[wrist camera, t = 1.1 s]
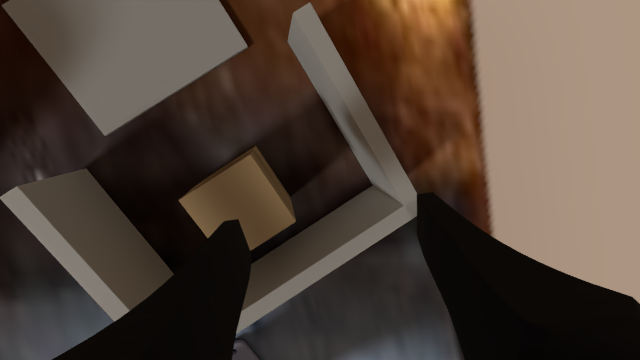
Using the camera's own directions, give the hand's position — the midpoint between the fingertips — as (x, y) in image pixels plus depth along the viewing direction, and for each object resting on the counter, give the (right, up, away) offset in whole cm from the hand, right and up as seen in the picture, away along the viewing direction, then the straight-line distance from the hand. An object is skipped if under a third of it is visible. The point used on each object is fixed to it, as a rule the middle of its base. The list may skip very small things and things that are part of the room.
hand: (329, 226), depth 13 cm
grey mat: (-12, +11, +7) cm, 18 cm away
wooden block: (-6, +1, +10) cm, 12 cm away
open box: (-6, +2, +10) cm, 12 cm away
